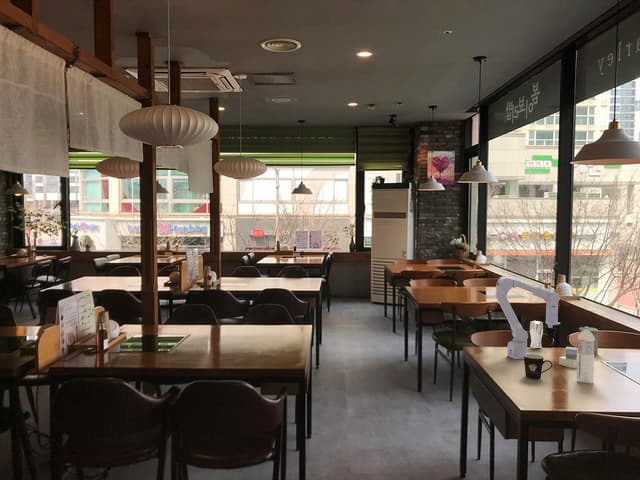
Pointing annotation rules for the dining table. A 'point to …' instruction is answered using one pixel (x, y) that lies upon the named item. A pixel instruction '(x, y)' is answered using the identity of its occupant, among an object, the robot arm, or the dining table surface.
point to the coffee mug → (534, 366)
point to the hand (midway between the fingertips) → (551, 339)
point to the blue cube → (571, 353)
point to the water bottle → (585, 357)
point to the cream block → (568, 362)
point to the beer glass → (536, 333)
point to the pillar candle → (595, 333)
